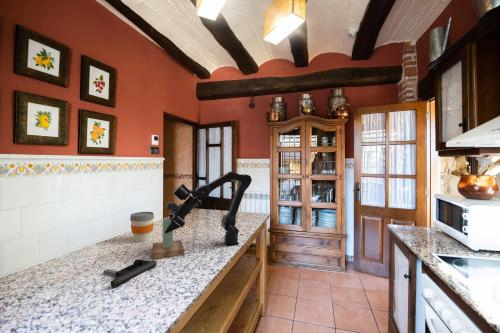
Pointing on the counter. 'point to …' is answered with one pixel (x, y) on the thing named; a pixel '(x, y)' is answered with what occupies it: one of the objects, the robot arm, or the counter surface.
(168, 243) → the green post
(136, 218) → the reusable coffee cup
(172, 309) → the counter surface
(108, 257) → the counter surface
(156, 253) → the walnut base
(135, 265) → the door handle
